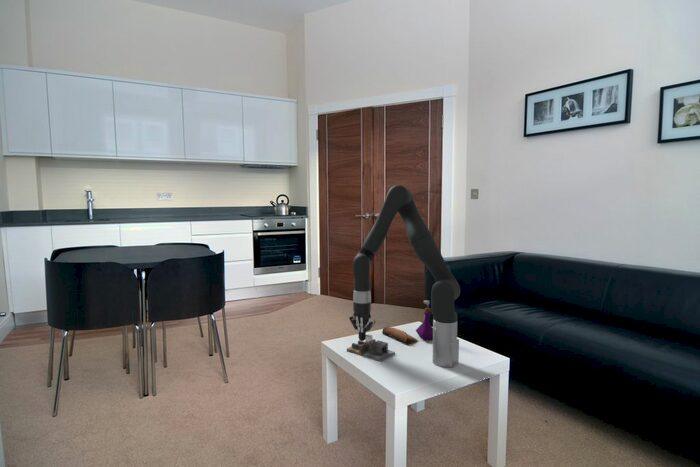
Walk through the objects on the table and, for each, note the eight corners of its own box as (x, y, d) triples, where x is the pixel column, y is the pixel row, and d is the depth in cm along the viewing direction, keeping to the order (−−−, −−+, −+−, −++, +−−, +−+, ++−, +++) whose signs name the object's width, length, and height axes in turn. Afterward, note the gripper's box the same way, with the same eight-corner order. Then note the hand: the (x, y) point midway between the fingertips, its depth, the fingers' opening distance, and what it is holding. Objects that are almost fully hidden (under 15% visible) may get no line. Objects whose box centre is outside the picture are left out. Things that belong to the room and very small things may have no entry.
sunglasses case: (420, 341, 179) (415, 330, 177) (410, 351, 176) (404, 340, 174) (395, 330, 194) (390, 320, 192) (385, 340, 191) (380, 330, 189)
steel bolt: (382, 351, 164) (382, 337, 164) (378, 353, 162) (378, 339, 161) (367, 347, 169) (367, 333, 169) (363, 349, 167) (363, 335, 166)
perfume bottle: (437, 340, 180) (437, 302, 179) (422, 342, 178) (422, 303, 177) (429, 335, 188) (430, 298, 186) (415, 336, 186) (415, 299, 184)
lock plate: (394, 354, 164) (395, 342, 164) (381, 361, 157) (381, 349, 156) (360, 344, 176) (360, 333, 175) (346, 351, 168) (346, 339, 168)
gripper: (379, 301, 166) (379, 341, 167) (355, 296, 175) (355, 334, 176) (369, 304, 160) (369, 346, 162) (344, 299, 169) (344, 339, 170)
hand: (362, 340), depth 169 cm, fingers closed
